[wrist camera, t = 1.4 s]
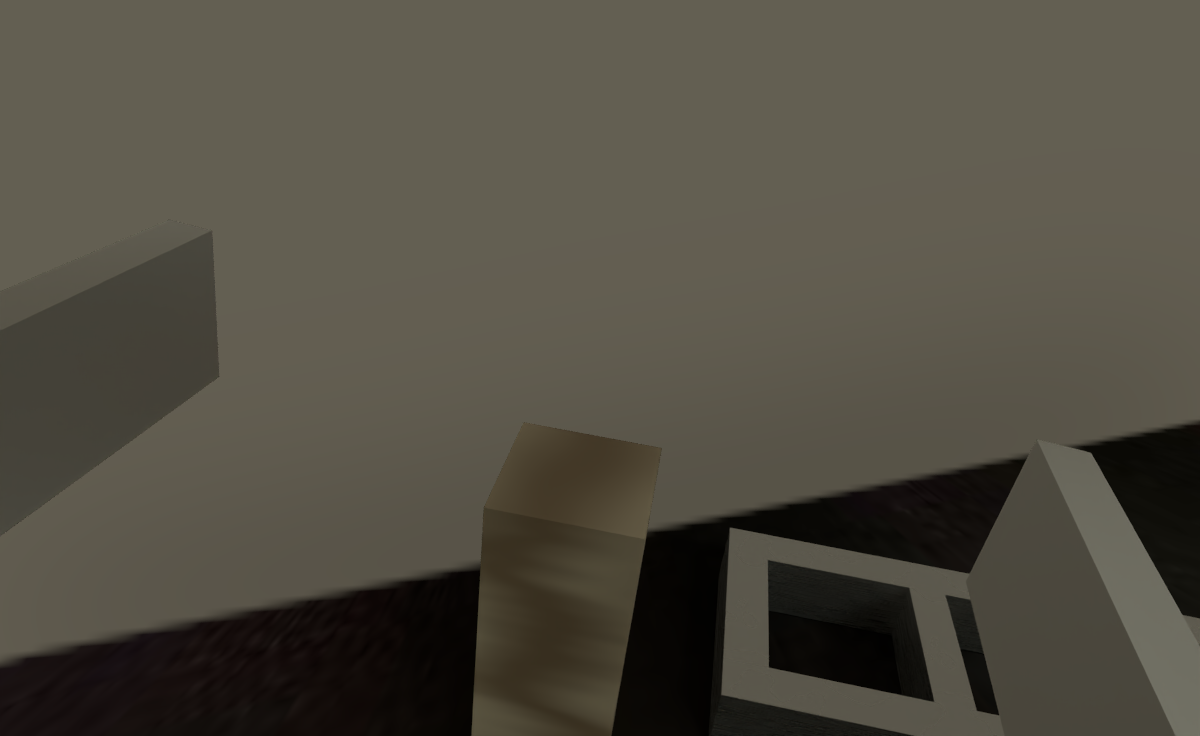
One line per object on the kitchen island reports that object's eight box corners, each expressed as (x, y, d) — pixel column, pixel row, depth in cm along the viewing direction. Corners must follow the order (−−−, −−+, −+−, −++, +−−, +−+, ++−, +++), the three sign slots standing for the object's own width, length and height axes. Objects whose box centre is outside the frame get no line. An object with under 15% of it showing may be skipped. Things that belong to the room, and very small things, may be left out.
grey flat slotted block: (1270, 684, 40) (1303, 638, 38) (1414, 901, 31) (1463, 852, 30) (718, 574, 42) (730, 527, 41) (707, 746, 33) (721, 694, 32)
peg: (610, 743, 33) (661, 448, 26) (590, 852, 29) (644, 539, 22) (500, 719, 33) (523, 422, 27) (466, 823, 30) (483, 507, 23)
